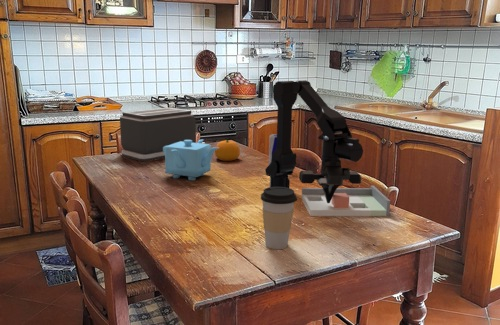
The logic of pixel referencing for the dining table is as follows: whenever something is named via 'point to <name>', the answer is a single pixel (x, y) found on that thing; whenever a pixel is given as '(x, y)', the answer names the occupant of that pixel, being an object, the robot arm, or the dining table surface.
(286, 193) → the coffee cup
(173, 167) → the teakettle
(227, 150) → the fruit
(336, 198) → the brick block
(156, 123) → the toaster
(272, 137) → the beverage can
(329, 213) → the board
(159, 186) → the dining table surface
